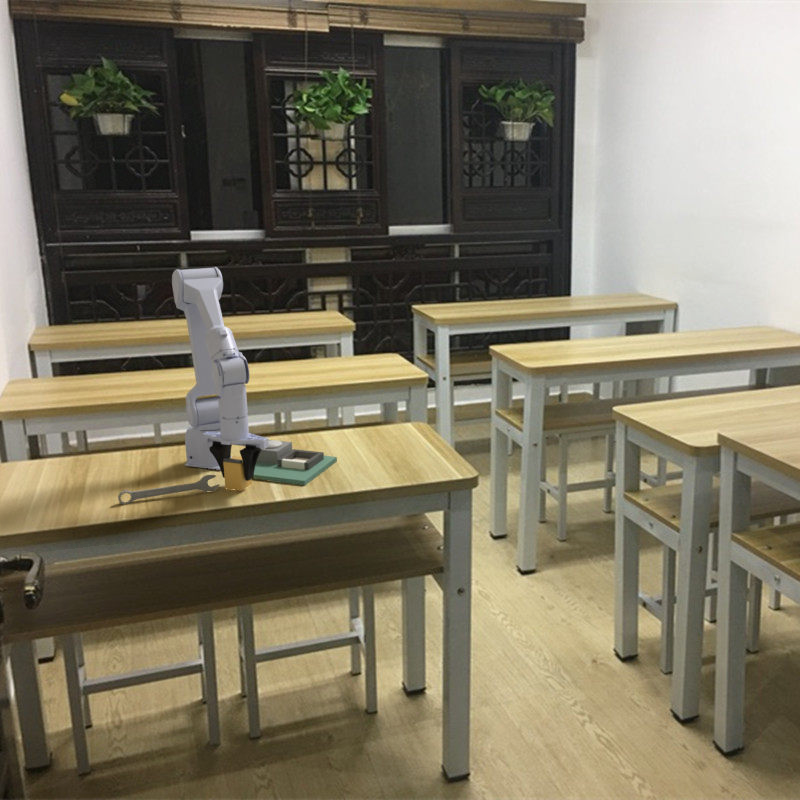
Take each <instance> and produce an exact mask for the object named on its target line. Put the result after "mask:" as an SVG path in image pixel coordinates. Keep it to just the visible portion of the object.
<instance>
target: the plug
mask: <svg viewBox="0 0 800 800" xmlns="http://www.w3.org/2000/svg"><path fill="white" fill-rule="evenodd" d="M223 460H224V462H223V464H224V477H225V478H224V487H225V488H227V489H226V490H228V489H235V490H234V491H236V490H241V491H240V492H243V491H245V490H246V489H247V488H246V487H248V486H249V485H251V484H252V485H253V481H252V480H253V479H251V480H249V481H246V480H245V475H244V465H243V460H242V457H241V456H237V455H236V456H235V455H233V456H232V457H231V458H225V459H223ZM252 485H251V486H252ZM249 487H250V486H249ZM249 487H248V488H249ZM225 488H224V489H225ZM245 488H246V489H245ZM244 489H245V490H244ZM242 490H243V491H242Z"/></svg>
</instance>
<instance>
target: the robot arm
mask: <svg viewBox="0 0 800 800" xmlns="http://www.w3.org/2000/svg"><path fill="white" fill-rule="evenodd" d="M171 285H172V293H173V299H174V303H175V306H176V309H177V310H178V309H179V310H180V311H182V312H183V313H184V317H185V320H186V325H187V331H188V337H189V338H188V339H189V344H190V350H191V356H192V365H193V370H194V377H195V383H196V384H195V385H194V386H193V387H192V388H191V389H189V391H187V393H186V396H185V403H186V404H185V414H186V418H187V421H188V422H187V423H188V424H189V426H187V427H188V428H187V429H186V431H185V434H184V443H185V444H184V445H185V456H186V463H184V466H185V467H191V468H200V469H207V468H208V470H215V469H216V471H220V472H221V476H222V478H224V479H225V477H224V464H223V462H224V460H223V459H225V458H231V457H233V456H232V446H240V447H243V448H242V449H240V450H239V454H240V457H242V460H243V465H244V475H245V480H246V481H249V480H251V479H252V478H253V476H254V470H255V465H256V462H257V459H258V456H259V454H260V452H261V450H262V449H265V448H267V447H269V442H268V440H269V437H265V436H261V435H257V434H254V433H251V432H250V430H249V429H250V428H249V412H248V401H247V400H248V399H247V385H248V384H249V381H250V367H249V363H248V360H247V358H246V357H245V355H243V352H241V351H239V349H238V346H237V342H236V340H235V338H234V337H235V336H234V334H233V331H232V330H231V328H229V327H227V326H225V324H224V318H223V315H222V313H223V312H222V309H221V304H220V300H221V297H222V293H223V289H224V281H223V274H222V272H221V270H220V269H219V268H218V267H217V266H212V267H205V268H203V267H202V268H188V269H175V270H174V271H173V273H172V275H171ZM213 395H214V396H213ZM215 395H216V396H215ZM206 396H208V397H206ZM209 396H211V397H209ZM200 397H204V398H200ZM252 480H253V479H252Z"/></svg>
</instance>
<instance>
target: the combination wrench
mask: <svg viewBox="0 0 800 800" xmlns="http://www.w3.org/2000/svg"><path fill="white" fill-rule="evenodd" d="M216 477H217V475H215V474H206V475H203V476H202V477H201V478H200V480H198V481H196V482H192V483H191V482H190V483H185V484H183V483H182V484H176V485H170V486H163V487H157V488H156V487H155V488H149V489H143V490H142V489H141V490H131V491H130V490H128V489H126V490H121V492H119V494H118V496H117V499H118V502H119V504H121V505H126V504H127V505H128V504H131V503H132V502H134V501H136V500H139V499H147V498H151V497H159V496H164V495H171V494H177V493H183V492H188V491H193V490H194V491H195V490H198V491H203V492H206V493H208V492H207V491H213V492H215V491H216V490H217V489H218V488H219V487H220V486H221V485H220V484H215V485H212V486H210V485H209V481H210V480H212V479H215V478H216ZM214 490H215V491H214ZM126 493H127V494H129V495H130V500H128V501H122V498H121V497H122V495H124V494H126Z"/></svg>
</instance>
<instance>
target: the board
mask: <svg viewBox="0 0 800 800" xmlns="http://www.w3.org/2000/svg"><path fill="white" fill-rule="evenodd" d="M268 442H269V447H267V448H265V449H262V450H261V452H260V454H259V456H258V459H257V462H256V465H255V470H254V476H253V478H254V479H253V480H258V479H262V480H261V481H266V480H269V482H274V481H275V482H276V483H283V484H291V485H298V486H306V485H308V484H309V483H310V482H311V481H313V480H314V479H316V476H317V477H319V475H321V474H323V472H324V471H326V470H327V469H329V468H330V467H332V466H333V465H334V464H336V463H337V461H338V456H333V455H332V456H329V455H325V454H324V452H323V451H316V450H315V451H314V450H306V449H305V450H304V449H295V448H294V449H293V442H292V441H284V440H275V439H268ZM275 482H274V483H275Z"/></svg>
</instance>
